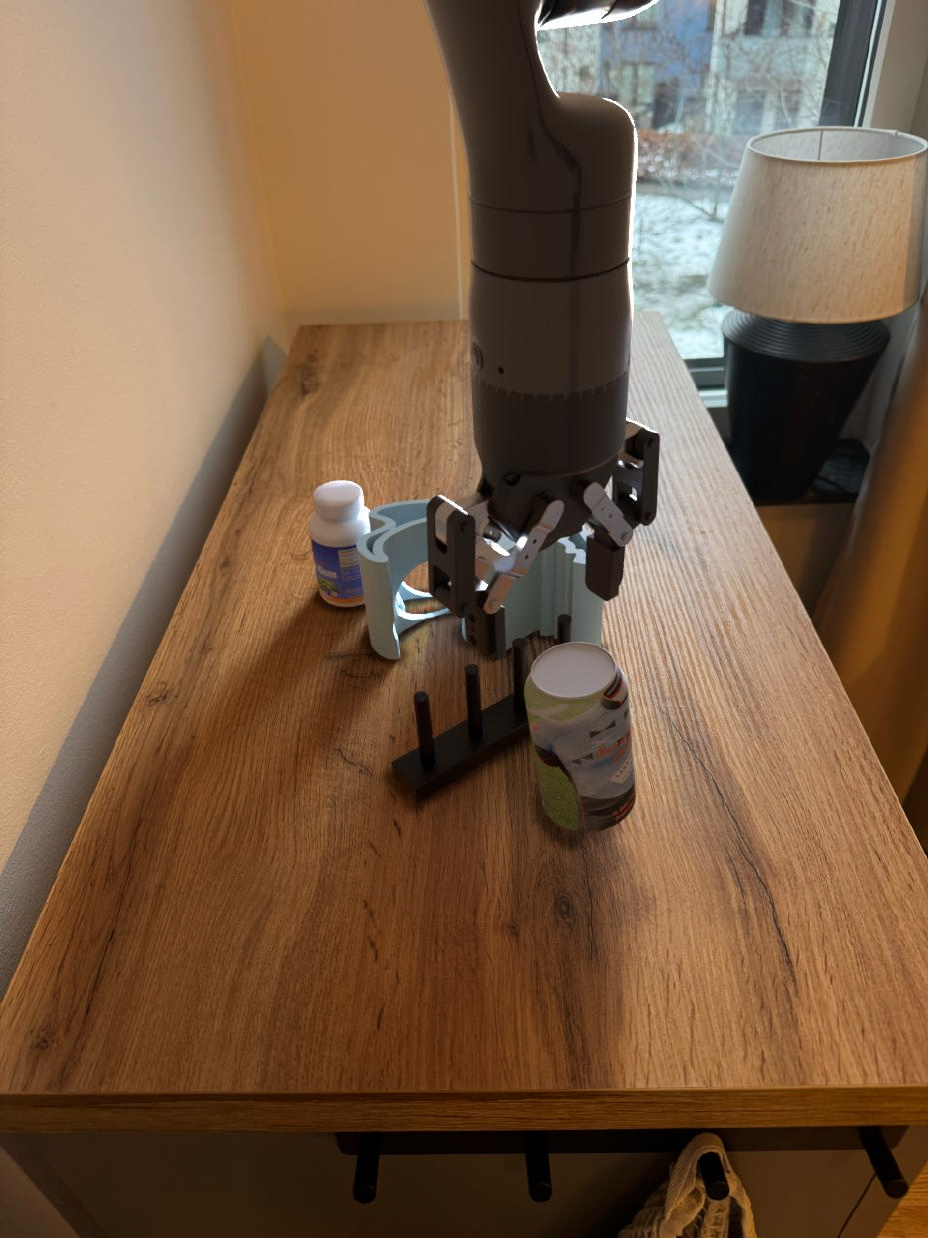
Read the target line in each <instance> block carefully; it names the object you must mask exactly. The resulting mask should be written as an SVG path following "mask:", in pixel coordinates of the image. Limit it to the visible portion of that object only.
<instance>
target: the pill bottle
mask: <svg viewBox="0 0 928 1238" xmlns="http://www.w3.org/2000/svg"><path fill="white" fill-rule="evenodd" d="M312 503H313V510H314V512H313V513H312V514H311V516H310V518H309V519H308V525H307V528H308V534H309V540H310V546H311V553H312V556H313V564H314V571H315V575H316V576H315V577H316V581H317V586H318V591H319V594H320V597H321V598H322V599H323V601H325V602H326V603H328V604H329V605H332V606H335V607H340V608H353V607H359V606H361V605H365V601H364V594H363V587H362V580H361V573H360V567H359V560H358V553H357V546H356V543H357V541H358V539H359V538H360V537H361V536H363V535H365V534H367V533H369V532H370V524H369V517H368V512H369V511H370V510H371V509H369V508H368V507H367V506H365V499H364V494H363V489H362V487H361V486H360V485H358V483H355V482H353V481H350V480H333V481H328V482H325V483H323V484H321V485H319V486H317V488H316V489H315V490H314V491H313V493H312Z"/></svg>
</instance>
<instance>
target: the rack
mask: <svg viewBox="0 0 928 1238" xmlns="http://www.w3.org/2000/svg"><path fill="white" fill-rule="evenodd" d="M571 634H572V618H571V616H570V615H567V614H562V615H560V616H558V618H557V639H556V646H557V645H561V644H565V643H571ZM511 658H512V659H511V660H512V662H511V664H512V666H511V667H512V693H510V694H508V695H506V696H505V697H503V698H501V699H499V700H498V701H496V702H495V703H492V704H491V705H489V706H487V707H485V708H484V709H482V691H481V674H480V673H481V672H480V671H481V670H480V666H479V665H478V664H476V663H468V664H466V665H465V666H464V667H463V673H464V675H463V676H464V677H463V678H464V689H465V690H464V691H465V706H466V719H464V720H462V721H461V722H459V723H457V724H455V725H453V726H451V727H450V728H448V729H447V730H445V731H443V732H441V733H440V734H438V735H436V736H434V733H433V724H432V723H433V722H432V713H431V704H430V694H429V693H428V692H427V691H425V690H418V691H416V692H414V693H413V696H412V701H413V707H414V708H413V710H414V717H415V718H414V719H415V726H416V727H415V728H416V735H417V745H418V746H417V747H415V748H413V749H411V750H410V751H408V752H406V753H404V754H403V755H401V756H399V757H397V758H395V759H393V760H392V761H390V764H391V765H390V766H391V770H392V777H393V779H395V780H396V781H397V783H398V784H399V785H400V786H401V787H402V788H403V789H404V790H405V791H406V792H407V793H408V795H410V796H411V798H412V799H413V800H415V802H416V803H417V804H420V802H422V801H424V800H425V799H427V798H429V797H431V796H433V795H434V794H435V793H437V792H439V791H441V790H442V789H444V788H445V787H447V786H449V785H451V784H452V783H454V782H456V781H457V780H459V779H461V778H462V777H464V776H465V775H467V774H468V773H470V772H472V771H473V770H475V769H477V768H479V767H481V766H482V765H483V764H485V763H486V762H489V761H490V760H492V759H493V758H495V757H497V756H498V755H500V754H502V753H504V752H505V751H507V750H509V749H511V748H512V747H514V746H515V745H517V744H518V743H520V742H522V741H523V740H525V739H527V738H528V737H531V733H530V727H529V721H528V715H527V709H526V703H525V697H524V687H525V683H526V680H527V678H528V641H527V640H526V639H524V638H517V639H514V640H513V642H512V647H511Z"/></svg>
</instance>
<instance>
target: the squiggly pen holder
mask: <svg viewBox="0 0 928 1238" xmlns="http://www.w3.org/2000/svg"><path fill="white" fill-rule="evenodd" d="M431 499H432V498H428V499H427V498H426V499H425V498H424V499H412V500H411V499H410V500H403V501H402V500H401V501H395V502H389V503H385V504H382V505H378V506H376V507H373V508H372V509H369V510H370V511H369V512H368V517H369V524H370V532H369V533H367V534H365V535H363V536H361V537H360V538H359V539H358V541H357V543H356V546H357V553H358V560H359V567H360V573H361V580H362V587H363V594H364V601H365V604H364V607H365V613H366V620H367V627H368V633H369V640H370V645H371V648H373V650H374V651H375V652H376V653H377V654H378V655H380V656H381V657H383V658H386V659H387V660H399V659H400V658H401V652H400V643H399V642H400V641H399V635H401V634H402V633H403V632H404V631H406V630H407V629H410V628H411V627H412V626H415V625H416V624H419V623H421V622H423V621H425V620H429V619H432V618H435V617H438V616H444V615H449V614H453V613H452V612H451V611H450V610H449V609H448V608H446V607H445V608H442V609H439V610H437V611H434V612H429V613H424V614H423V613H421V614H419V613H409V612H406V605H405V603H404V601H408V600H415V599H424V598H425V599H426V598H434V597H433V596H431V595H430V593H429V592H423V591H420V590H417V589H414V588H412V587H411V586H409V585H407V584H406V582H405V579H406V578H407V577H408V575H410V573H412V571H414V570H415V569H416V568H417V567H418V566H421V565H423V564H426V563H428V548H427V516H426V508H427V505H428V503H429V501H430V500H431ZM448 500H449V501H451V502H454V501H455V500H450V499H448ZM590 534H591V533H590V532H589V530H588V528H587V527H586V525H585V524H584V525H583V527H582V531H581V532H579V533H577V534H575V535H573V536H570V537H565V538H561V539H559V540H558V541H557V542H555V543H554V544H553V545H551V546H550V547H549V548H546V549H544V550H542V551H540V552H538V553H537V555H536V557H535V558H534V560H533V562H532V564H531V566H530V568H529V570H528V572H527V574H526V575H525V576H524V577H522V578H517V579H515V581H514V582H513V584H512V586H511V588H510V590H509V592H508V594H507V596H506V598H505V600H504V602H503V604H502V606H503V607H505V632H506V651H508V650H509V649H510V648H512V642H513V640H514V639H517V638H522V639H524V638H526V637H527V636H529V635H530V634H533V633H534V632H537V631H538V632H539V635H540V636H542V637H550V636H553V638H554V640H557V618H558V616H560V615H562V614H567V615H570V616H571V618H572V634H571V643H572V642H584V643H590V644H594V645H597V646H599V647H602V632H603V615H604V600H603V599H602V598H600V597H599V596H597V595H596V594H594V593H593V592H591V591H590V590H589V589H588V588H587V587H586V584H585V565H586V539H587V536H588V535H590ZM498 545H499V547H500V548H502V549H503V550H504V551H506V552H507V553H509V554H511V553H512V551H513V550H514V548H515V546H516V543H515V542H513V541H512V540H510V539H509V538H507V537H506V536H505V535H504V534H503V533H502V532H500V534H499V536H498ZM494 572H495V567H494V565H493V564H491V566H490V568H489V570H488V572H487V574H486V575H485V577H484V579H483V582H484V583H486V584H487V585H488V584H489V582H490V580H491V578H492V576H493V574H494ZM461 630H462V631H461V632H462V637H463V639H464V640H465V642H467V640H466V633H465V632H466V631H465V618H461Z"/></svg>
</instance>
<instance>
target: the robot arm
mask: <svg viewBox="0 0 928 1238" xmlns="http://www.w3.org/2000/svg"><path fill="white" fill-rule="evenodd" d="M658 1H659V0H422V3H423V6H424V9H425V13H426V15H427V19H428V22H429V25H430V28H431V31H432V34H433V38H434V40H435V43H436V47H437V51H438V54H439V58H440V61H441V65H442V67H443V72H444V75H445V79H446V82H447V86H448V90H449V95H450V99H451V102H452V106H453V110H454V115H455V119H456V123H457V126H458V131H459V136H460V139H461V144H462V151H463V154H464V160H465V165H466V166H465V167H466V178H467V181H466V182H467V207H468V228H469V230H468V231H469V252H470V253H469V254H470V279H469V289H468V299H467V301H468V302H467V326H468V328H467V329H468V343H469V344H468V346H469V348H468V349H469V367H470V384H471V385H470V389H471V390H470V391H471V409H472V410H471V411H472V430H473V442H474V445H475V449H476V452H477V454H478V458H479V461H480V466H481V474H480V478H479V481H478V484H477V486H476V489H475V493H473V494H470V495H468V496H465V497H462V498H460V499H457V500H453V501H454V502H451V501H452V500H450V499H448V498H446V497H445V496H443V495H440V494H437V495H435V496H433V497H432V498H430V499H431V500H430V501H429V503H428V505H427V508H426V516H427V548H428V562H427V576H428V578H427V579H428V593H430V595H431V596H433V597H432V598H434V599H435V600H436V601H437V602H439V603H440V604H441V605H442V606H444V607H445V608H448V609H449V610H450V611H451V612H452V613H451V614H453V615H455V616H456V617H457V618H459V619H462V618H465V631H466V632H465V633H466V640H467V641H466V640H465V641H466V642H467V644H468V645H469V646H470V647H471V648H472V649H474V650H475V651H476V652H477V653H478V654H480V655H481V656H482V657H483V658H487V659H488V660H489V661H491V662H492V663H497V662H498V661H500V660H502V659H503V658H504V659H505V657H506V656H507V650H506V632H505V607H503V606H502V604H503V602H504V600H505V598H506V596H507V594H508V592H509V590H510V588H511V586H512V584H513V582H514V581H515V579H517V578H522V577H524V576H525V575H526V574H527V572H528V570H529V568H530V566H531V564H532V562H533V560H534V558H535V557H536V555H537V553H538V552H540V551H542V550H544V549H546V548H549V547H550V546H551V545H553V544H554V543H555V542H557V541H558V540H559V539H561V538H565V537H570V536H573V535H575V534H577V533H579V532H581V531H582V527H583V525H585V524H586V525H587V527H589V529H590V530H593V532H592V533H590V535H588V536H587V539H586V565H585V584H586V587H587V588H588V589H589V590H590V591H591V592H593V593H594V594H596V595H597V596H599V597H600V598H602V599H603V601H605V602H609V601H611V600H613V599H615V598H617V597H618V596H619V594H620V586H621V584H622V581H623V579H624V573H625V570H624V569H625V557H626V546H628V545H629V544H630V542H631V541H632V539H633V537H634V530H635V529H636V528H637V527H638V526H640V525H642V526H644V527H648V526H650V525H651V524H652V523H653V522H654V521H655V519H656V517H657V513H658V493H659V470H660V469H659V468H660V467H659V466H660V449H661V447H660V446H661V436H660V433H659V432H657V431H655V430H652V429H650V428H649V427H647V426H645V425H643V424H641V423H639V422H637V421H633V420H631V419H630V418H628V403H629V402H628V401H629V388H630V372H631V356H632V341H633V340H632V339H633V328H634V327H633V326H634V289H633V277H632V276H633V275H632V250H633V234H634V218H635V217H634V216H635V203H636V202H635V201H636V181H637V169H638V137H637V136H638V135H637V131H636V127H635V124H634V120H633V118H632V116H631V114H630V112H628V110H627V109H626V108H624V107H623V106H622V105H621V104H619V103H618V102H616V101H613V100H611V99H608V98H605V97H602V96H596V95H591V94H586V93H578V92H570V91H561V90H554V87H553V85H552V84H551V81H550V79H549V77H548V74H547V72H546V69H545V66H544V63H543V60H542V57H541V54H540V50H539V45H538V39H537V31H539V30H540V31H541V30H549V29H557V28H558V29H559V28H566V27H567V28H568V27H574V26H575V27H576V26H583V25H591V24H598V23H607V22H613V21H618V20H623V19H626V18H628V17H629V18H630V17H632V16H635V15H636V14H638V13H640V12H642V11H644V10H646V9H648V8H649V7H651V6H652V5H654V4H656V3H657V2H658ZM610 481H611V498H610V497H609V495H607V491H606V489H607V486H608V484H609V482H610ZM633 489H634V490H635V492H636V496H634V495H633ZM449 500H450V501H449ZM500 532H502V533H503V534H504V535H505V536H506V537H507V538H509V539H510V540H512V541H513V542H515V543H516V546H515V548H514V550H513V551H512V553H511V554H509V553H507V552H506V551H504V550H503V549H502V548H500V547H499V545H498V536H499V534H500ZM491 564H493V565H494V567H495V572H494V574H493V576H492V578H491V580H490V582H489V584H488V585H487V584H486V583H484V582H483V579H484V577H485V575H486V574H487V572H488V570H489V568H490V566H491Z"/></svg>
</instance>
